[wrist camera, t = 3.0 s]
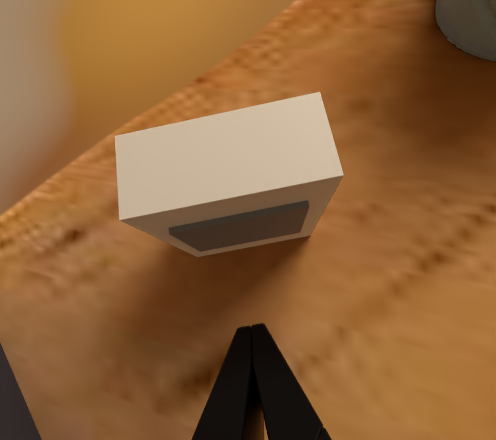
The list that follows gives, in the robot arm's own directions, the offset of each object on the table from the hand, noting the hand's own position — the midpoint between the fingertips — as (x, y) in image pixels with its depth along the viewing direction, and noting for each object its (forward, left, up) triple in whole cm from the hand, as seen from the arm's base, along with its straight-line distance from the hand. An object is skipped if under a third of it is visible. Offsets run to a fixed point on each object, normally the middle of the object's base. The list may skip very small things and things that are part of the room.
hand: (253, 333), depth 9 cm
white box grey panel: (+5, +2, -8) cm, 10 cm away
